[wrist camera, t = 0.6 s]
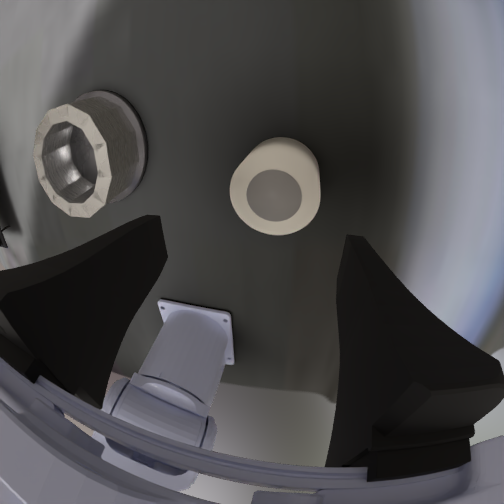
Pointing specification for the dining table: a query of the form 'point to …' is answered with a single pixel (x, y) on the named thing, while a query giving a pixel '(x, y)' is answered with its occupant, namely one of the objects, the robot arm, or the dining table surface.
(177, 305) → the robot arm
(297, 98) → the dining table surface
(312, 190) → the beige short cylinder
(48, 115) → the lens barrel
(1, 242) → the vintage camera
